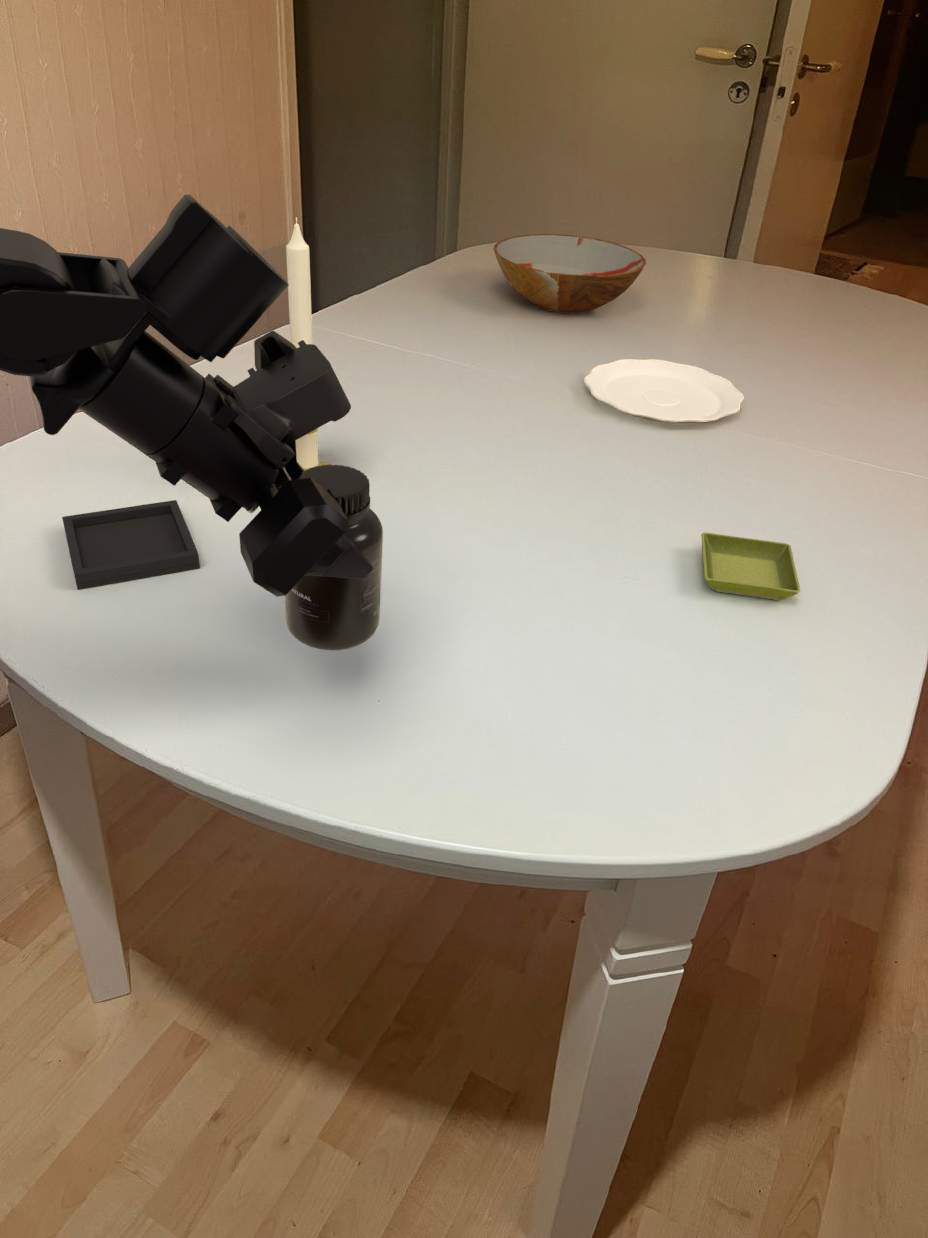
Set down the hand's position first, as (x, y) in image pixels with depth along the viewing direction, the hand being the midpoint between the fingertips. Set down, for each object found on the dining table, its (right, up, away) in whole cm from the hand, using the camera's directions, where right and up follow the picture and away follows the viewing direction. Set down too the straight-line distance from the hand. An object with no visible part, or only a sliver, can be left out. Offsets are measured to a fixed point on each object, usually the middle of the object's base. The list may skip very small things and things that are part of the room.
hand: (352, 546), depth 65 cm
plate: (+34, +24, +60) cm, 73 cm away
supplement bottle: (-2, -6, +3) cm, 7 cm away
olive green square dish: (+35, -1, +25) cm, 43 cm away
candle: (-9, +9, +34) cm, 37 cm away
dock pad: (-23, +1, +22) cm, 32 cm away
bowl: (+25, +48, +92) cm, 107 cm away
